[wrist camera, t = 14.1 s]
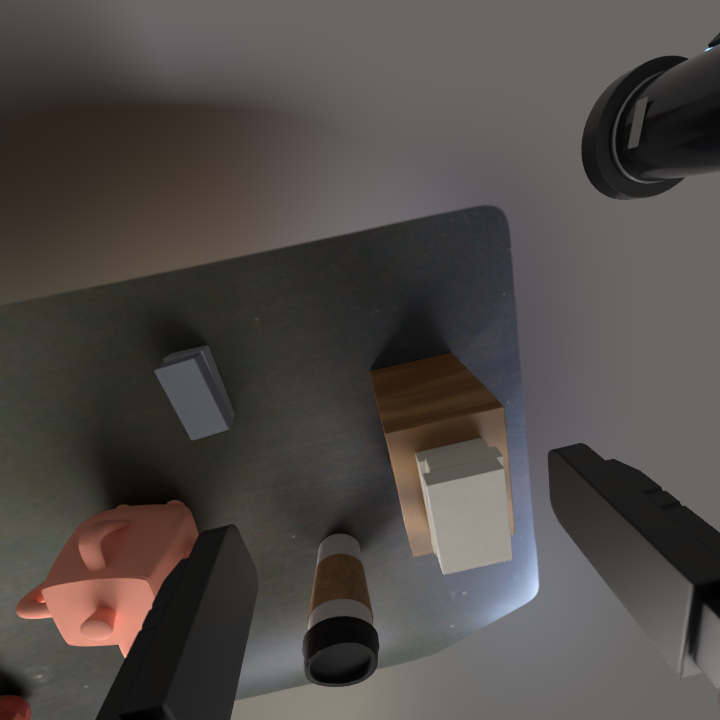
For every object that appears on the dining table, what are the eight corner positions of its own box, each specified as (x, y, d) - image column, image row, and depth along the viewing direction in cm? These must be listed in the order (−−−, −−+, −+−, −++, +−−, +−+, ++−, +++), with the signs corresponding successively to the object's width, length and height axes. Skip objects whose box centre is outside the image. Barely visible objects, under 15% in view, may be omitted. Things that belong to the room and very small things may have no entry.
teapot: (73, 538, 47) (-19, 647, 35) (132, 459, 44) (53, 547, 31) (186, 590, 52) (139, 702, 39) (247, 521, 48) (217, 620, 36)
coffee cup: (321, 520, 49) (316, 635, 35) (377, 534, 51) (394, 650, 37) (301, 563, 51) (289, 688, 37) (355, 576, 53) (363, 700, 39)
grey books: (168, 353, 40) (151, 366, 36) (211, 343, 40) (198, 355, 36) (198, 423, 43) (186, 442, 39) (239, 414, 43) (229, 432, 39)
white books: (411, 448, 30) (418, 469, 27) (487, 431, 30) (503, 450, 27) (428, 535, 33) (436, 561, 30) (497, 519, 33) (511, 544, 30)
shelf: (369, 371, 42) (384, 433, 29) (451, 352, 42) (504, 406, 29) (390, 466, 47) (412, 557, 34) (464, 450, 47) (515, 534, 34)
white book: (422, 473, 27) (426, 485, 26) (496, 457, 27) (504, 468, 26) (438, 560, 30) (443, 575, 29) (505, 545, 30) (512, 559, 29)
